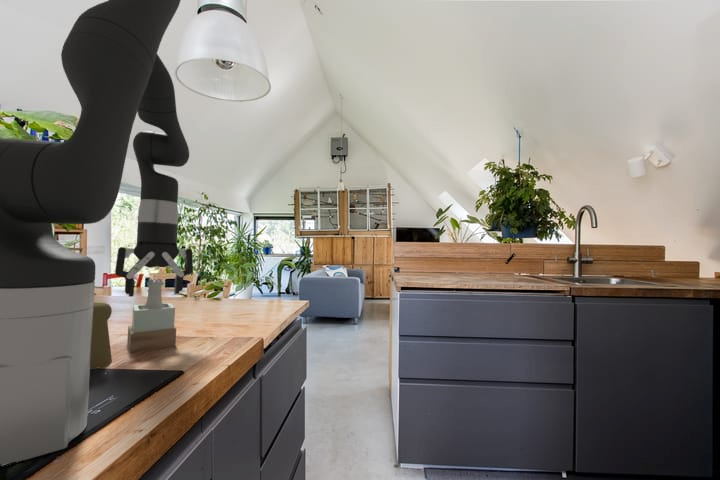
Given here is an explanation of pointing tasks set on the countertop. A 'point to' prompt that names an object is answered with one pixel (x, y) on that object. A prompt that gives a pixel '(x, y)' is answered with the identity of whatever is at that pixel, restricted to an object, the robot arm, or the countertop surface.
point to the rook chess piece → (154, 294)
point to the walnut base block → (150, 339)
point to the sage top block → (153, 318)
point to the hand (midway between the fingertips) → (154, 294)
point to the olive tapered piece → (100, 336)
